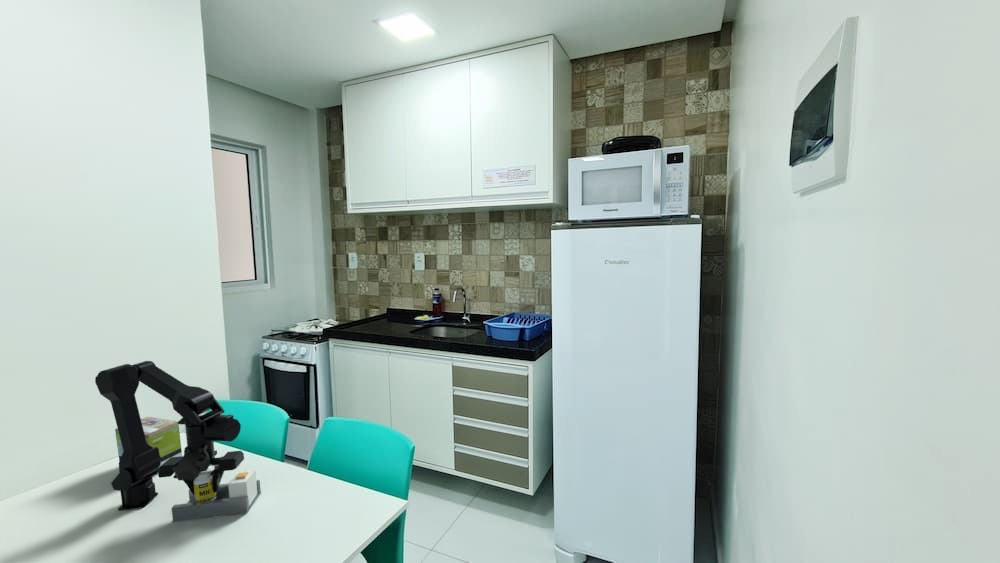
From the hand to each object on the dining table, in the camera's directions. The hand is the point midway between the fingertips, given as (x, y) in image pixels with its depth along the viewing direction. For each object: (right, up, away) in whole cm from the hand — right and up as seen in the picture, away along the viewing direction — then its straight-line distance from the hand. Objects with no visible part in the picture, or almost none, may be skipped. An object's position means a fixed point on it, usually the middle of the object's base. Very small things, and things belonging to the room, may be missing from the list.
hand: (205, 492), depth 113 cm
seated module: (+10, -4, +2) cm, 11 cm away
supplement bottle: (0, -2, 0) cm, 2 cm away
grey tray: (+3, -4, +1) cm, 5 cm away
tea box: (-34, -3, +23) cm, 41 cm away
